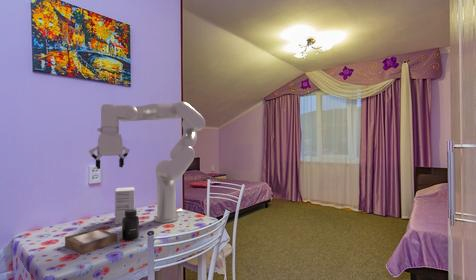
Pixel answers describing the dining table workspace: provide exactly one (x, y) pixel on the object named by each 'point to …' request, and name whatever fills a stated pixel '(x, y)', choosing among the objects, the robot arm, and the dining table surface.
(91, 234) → the dock
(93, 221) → the dining table surface
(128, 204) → the supplement box
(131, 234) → the supplement bottle
